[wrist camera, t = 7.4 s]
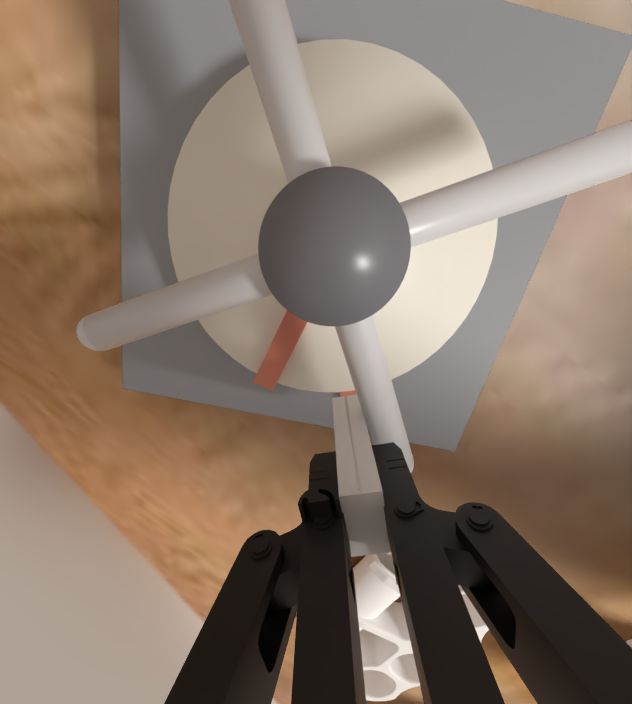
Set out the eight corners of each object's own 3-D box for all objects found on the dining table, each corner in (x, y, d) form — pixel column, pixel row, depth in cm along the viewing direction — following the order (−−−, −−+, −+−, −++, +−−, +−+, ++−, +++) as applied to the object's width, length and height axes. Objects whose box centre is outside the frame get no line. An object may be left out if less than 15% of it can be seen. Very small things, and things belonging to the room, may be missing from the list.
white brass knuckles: (395, 510, 26) (522, 580, 29) (282, 622, 32) (398, 673, 34) (404, 547, 23) (547, 622, 26) (278, 665, 28) (405, 717, 31)
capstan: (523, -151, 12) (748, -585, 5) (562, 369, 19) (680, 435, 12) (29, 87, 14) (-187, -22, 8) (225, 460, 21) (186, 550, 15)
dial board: (598, 60, 15) (645, 30, 13) (444, 433, 23) (457, 455, 21) (144, -58, 14) (111, -113, 12) (139, 375, 22) (118, 391, 20)
